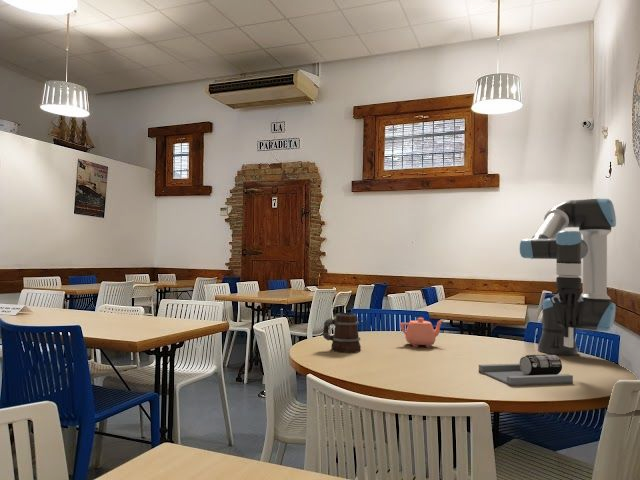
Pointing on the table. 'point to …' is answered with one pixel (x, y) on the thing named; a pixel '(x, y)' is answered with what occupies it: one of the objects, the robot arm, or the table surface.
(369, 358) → the table surface
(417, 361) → the table surface
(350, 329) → the mug
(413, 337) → the teapot
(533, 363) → the beverage can
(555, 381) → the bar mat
